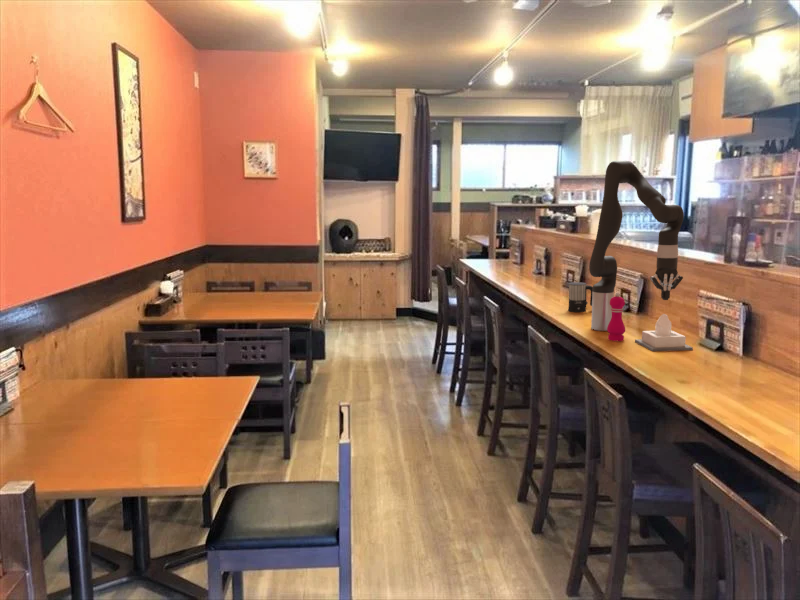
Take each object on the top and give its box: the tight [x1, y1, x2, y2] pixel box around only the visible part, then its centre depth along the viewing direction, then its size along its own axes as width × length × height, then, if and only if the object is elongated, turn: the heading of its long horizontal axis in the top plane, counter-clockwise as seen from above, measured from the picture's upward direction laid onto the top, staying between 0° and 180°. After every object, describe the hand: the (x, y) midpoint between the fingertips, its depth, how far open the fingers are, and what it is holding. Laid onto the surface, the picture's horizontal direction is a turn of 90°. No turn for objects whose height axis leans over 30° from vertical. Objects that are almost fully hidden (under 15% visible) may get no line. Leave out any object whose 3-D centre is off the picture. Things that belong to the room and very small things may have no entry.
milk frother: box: [567, 281, 593, 313], centre depth 329 cm, size 14×16×15 cm
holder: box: [634, 329, 694, 352], centre depth 247 cm, size 16×16×5 cm
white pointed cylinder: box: [654, 313, 672, 336], centre depth 247 cm, size 6×12×6 cm
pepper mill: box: [606, 292, 626, 342], centre depth 258 cm, size 7×7×20 cm
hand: (665, 299), depth 245 cm, fingers closed
